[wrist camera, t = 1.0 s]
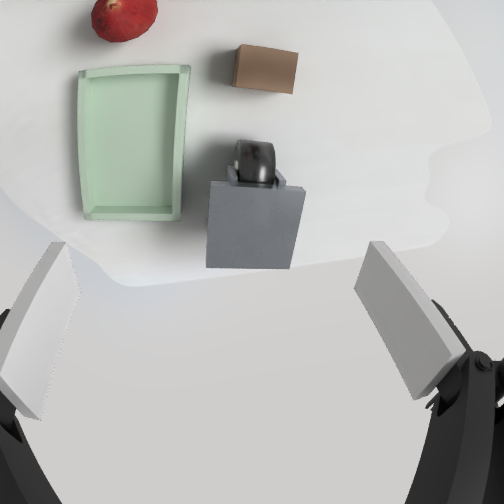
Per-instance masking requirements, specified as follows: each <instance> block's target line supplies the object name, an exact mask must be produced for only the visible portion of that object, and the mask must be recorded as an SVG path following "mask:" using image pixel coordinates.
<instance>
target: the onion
mask: <svg viewBox="0 0 504 504" xmlns="http://www.w3.org/2000/svg"><path fill="white" fill-rule="evenodd" d="M157 13H158V8H157V1H156V0H98V1H97V2H96V3H95V6H94V8H93V10H92V13H91V17H92V27H93V29H94V30H95V32H96V33H97V35H98V36H99V37H100V38H103V39H105V40H107V41H109V42H126V41H129V40H132V39H135V38H138V37H139V36H140V35H142V34H143V33H145V32H146V31H148V29H149V28H150V27H151V25H152V24H153V23H154V22H155V19H156V16H157Z"/></svg>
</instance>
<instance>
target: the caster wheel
mask: <svg viewBox="0 0 504 504" xmlns="http://www.w3.org/2000/svg"><path fill="white" fill-rule="evenodd" d="M275 166H276V161H275V151H274V147H273V144H272V143H268V142H258V141H247V140H238V142H237V145H236V149H235V154H234V162H233V166H227V175H226V176H227V180H228V181H211V183H210V196H209V211H208V219H207V246H206V268H243V269H289V268H290V264H291V259H292V255H293V250H294V246H295V241H296V237H297V232H298V228H299V223H300V218H301V214H302V209H303V204H304V199H305V195H306V191H305V190H304V189H303V188H302V187H297V186H286V180H285V179H284V177H283V176H282V175H281V173H280V172H279V171H278V170H277V169H275Z"/></svg>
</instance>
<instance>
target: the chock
mask: <svg viewBox="0 0 504 504" xmlns="http://www.w3.org/2000/svg"><path fill="white" fill-rule="evenodd" d="M297 60H298V53H295V52H290V51H284V50H279V49H273V48H266V47H259V46H252V45H244V44H241V45H240V46H239V47H238V48H237V52H236V59H235V67H234V75H233V82H232V87H242V88H251V89H260V90H267V91H275V92H281V93H288V94H292V93H293V86H294V80H295V73H296V66H297Z"/></svg>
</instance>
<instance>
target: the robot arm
mask: <svg viewBox="0 0 504 504" xmlns="http://www.w3.org/2000/svg"><path fill="white" fill-rule="evenodd" d="M354 289H355V291H356V293H357V295H358V296H359V298H360V300H361V302H362V303H363V305H364V307H365V308H366V310H367V311H368V314H369V316H370V317H371V319H372V321H373V323H374V325H375V326H376V328H377V330H378V332H379V334H380V336H381V337H382V339H383V341H384V343H385V345H386V347H387V349H388V351H389V352H390V354H391V356H392V358H393V360H394V362H395V364H396V366H397V368H398V370H399V372H400V374H401V376H402V378H403V380H404V382H405V384H406V386H407V388H408V390H409V392H410V394H411V396H412V398H413V400H417V399H420V398H422V397H425V396H428V395H429V394H430V393H431V392H432V391H433V389H434V388H435V387H437V389H438V391H439V392H438V393H437V394H436V395H435V396H434V397H433V398H432V400H430V401H429V403H428V404H427V405H426V407H425V408H426V409H428V408H429V407H430V406H431V405H432V404H433V403H434V405H433V407H432V409H431V411H432V414H431V419H430V423H429V428H428V432H427V436H426V440H425V444H424V447H423V451H422V454H421V458H420V461H419V465H418V468H417V471H416V474H415V477H414V480H413V483H412V485H411V488H410V491H409V494H408V497H407V499H406V502H405V504H504V404H503V405H502V406H501V407H498V403H497V402H498V401H499V400H500V399H502V398H503V396H504V358H503V359H502V360H501V361H492V360H491V358H490V357H489V356H488V355H487V354H485V353H483V352H481V351H474V352H473V350H472V349H471V348H470V346H469V344H468V343H467V341H466V340H465V339H464V337H463V336H462V334H461V333H460V331H459V330H458V329H457V327H456V326H455V325H454V323H453V321H452V320H451V319H450V318H449V316H448V315H447V313H446V312H445V310H444V309H443V308H442V307H441V306H440V305H439V304H438V303H436V302H435V301H434V300H430V298H429V297H428V296H427V294H426V293H425V292H424V290H423V289H422V288H421V286H420V285H419V284H418V283H417V281H416V280H415V279H414V278H413V276H412V275H411V274H410V273H409V271H408V270H407V269H406V268H405V266H404V265H403V264H402V263H401V261H400V260H399V259H398V258H397V257H396V255H395V254H394V253H393V252H392V251H391V249H390V248H389V247H388V246H387V245H386V244H385V242H384V241H370V243H369V246H368V250H367V253H366V256H365V259H364V261H363V264H362V268H361V270H360V273H359V276H358V279H357V282H356V284H355V287H354ZM80 295H81V290H80V287H79V284H78V280H77V277H76V274H75V271H74V267H73V264H72V261H71V257H70V253H69V249H68V245H67V242H52V243H51V244H50V246H49V247H48V249H47V250H46V252H45V253H44V255H43V256H42V258H41V259H40V261H39V262H38V264H37V265H36V267H35V269H34V270H33V272H32V274H31V275H30V277H29V278H28V280H27V282H26V283H25V285H24V287H23V288H22V290H21V292H20V294H19V296H18V297H17V299H16V301H15V303H14V304H13V306H12V308H11V309H6V310H5V311H4V312H3V313H2V314H1V315H0V504H62V503H61V501H60V500H59V498H58V496H57V495H56V493H55V492H54V490H53V489H52V487H51V485H50V484H49V482H48V480H47V478H46V477H45V475H44V473H43V471H42V469H41V468H40V466H39V464H38V462H37V460H36V458H35V456H34V454H33V452H32V450H31V448H30V446H29V444H28V441H27V440H26V437H25V435H24V433H23V431H22V428H21V426H20V423H19V421H18V419H17V418H16V416H15V411H16V409H17V410H18V411H19V412H21V414H22V415H24V416H25V417H29V418H33V419H36V420H40V421H41V418H42V414H43V409H44V405H45V401H46V397H47V393H48V389H49V386H50V382H51V379H52V375H53V372H54V368H55V365H56V361H57V359H58V355H59V352H60V349H61V346H62V343H63V340H64V337H65V334H66V332H67V328H68V326H69V323H70V321H71V318H72V315H73V312H74V310H75V307H76V305H77V302H78V300H79V297H80Z"/></svg>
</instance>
